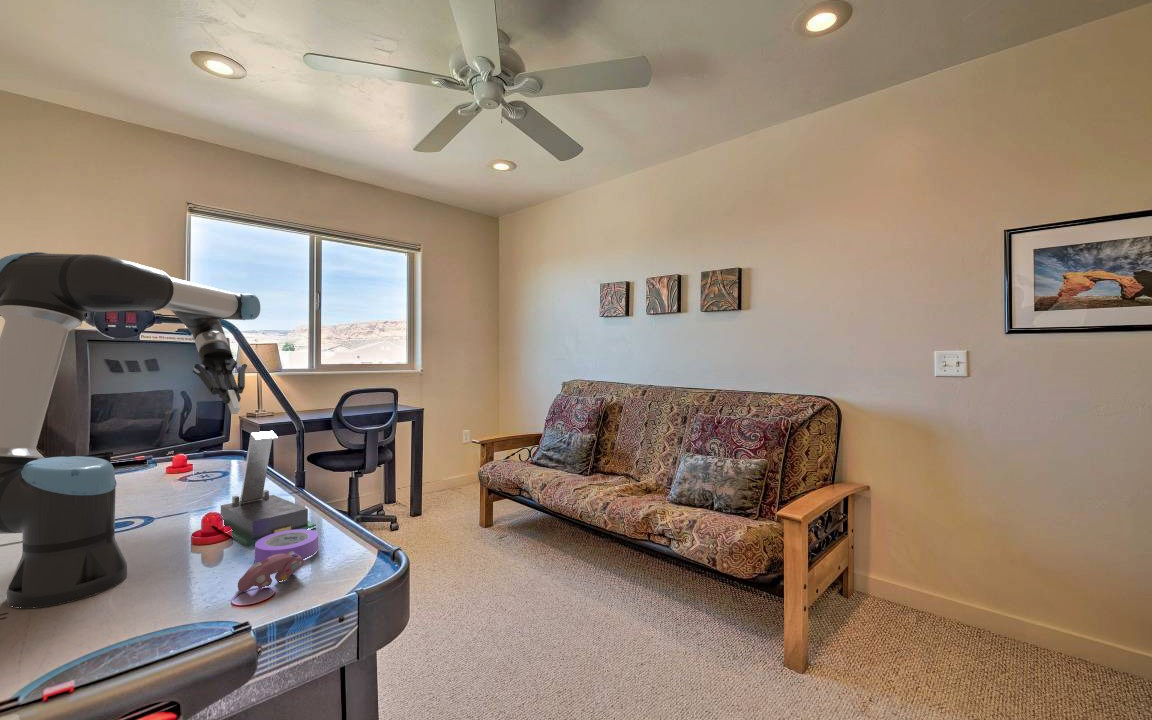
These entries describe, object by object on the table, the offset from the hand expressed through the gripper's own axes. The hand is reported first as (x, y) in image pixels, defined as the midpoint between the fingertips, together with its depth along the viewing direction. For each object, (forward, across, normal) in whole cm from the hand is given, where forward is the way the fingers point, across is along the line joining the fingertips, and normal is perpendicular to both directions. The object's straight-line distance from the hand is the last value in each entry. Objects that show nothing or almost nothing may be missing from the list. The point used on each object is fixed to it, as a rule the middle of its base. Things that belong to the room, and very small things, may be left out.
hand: (235, 410), depth 132 cm
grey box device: (+33, 0, +6) cm, 33 cm away
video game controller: (+58, -12, -18) cm, 62 cm away
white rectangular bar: (+22, 0, -2) cm, 22 cm away
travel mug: (+19, -28, +21) cm, 39 cm away
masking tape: (+49, -4, -10) cm, 51 cm away
